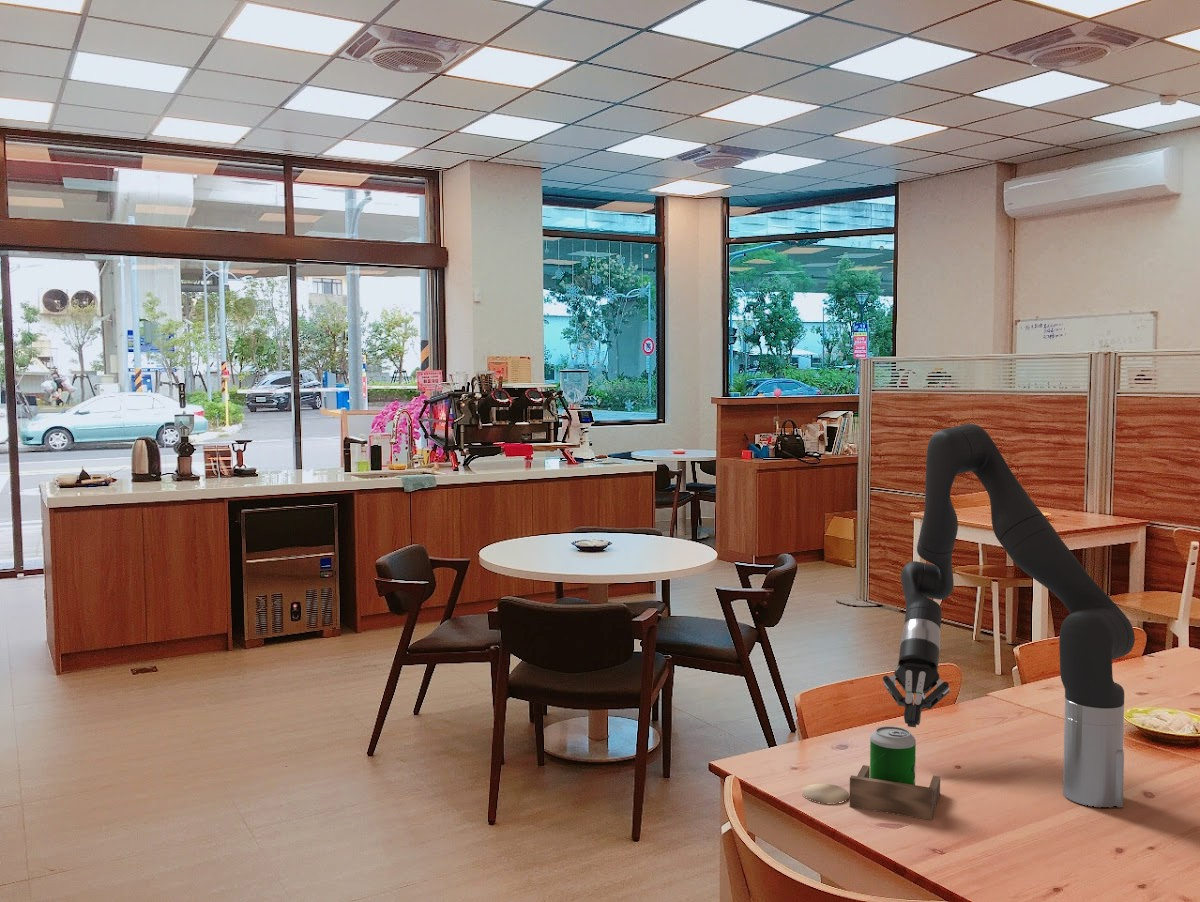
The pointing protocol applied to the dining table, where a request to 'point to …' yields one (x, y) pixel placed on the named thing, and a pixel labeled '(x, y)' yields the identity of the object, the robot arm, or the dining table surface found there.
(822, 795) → the beige domed disc
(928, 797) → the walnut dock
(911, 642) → the robot arm
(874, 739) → the soda can
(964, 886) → the dining table surface
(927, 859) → the dining table surface
